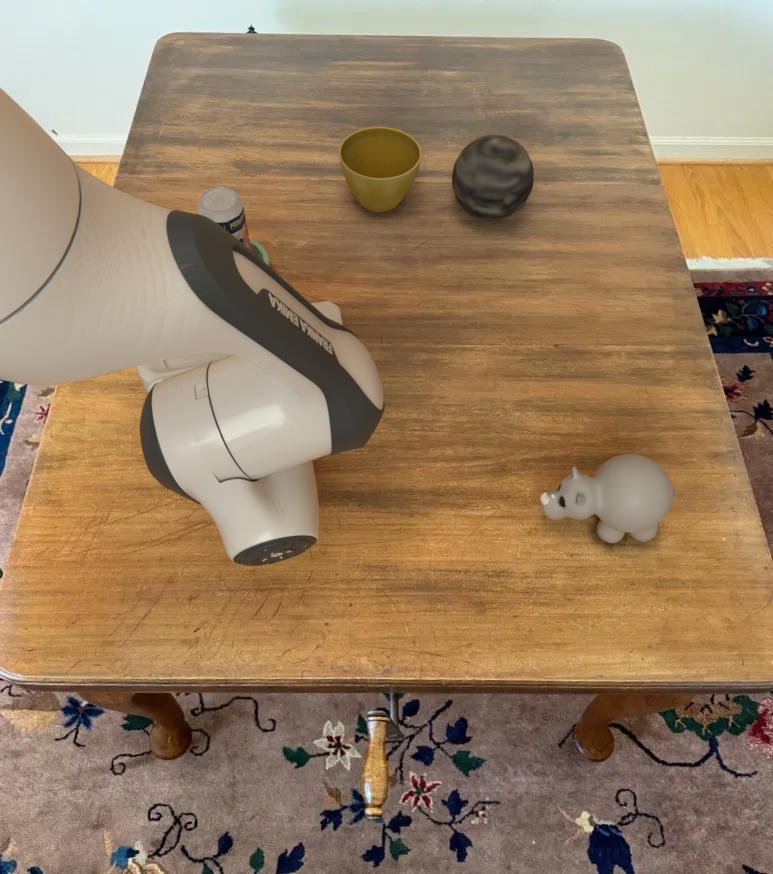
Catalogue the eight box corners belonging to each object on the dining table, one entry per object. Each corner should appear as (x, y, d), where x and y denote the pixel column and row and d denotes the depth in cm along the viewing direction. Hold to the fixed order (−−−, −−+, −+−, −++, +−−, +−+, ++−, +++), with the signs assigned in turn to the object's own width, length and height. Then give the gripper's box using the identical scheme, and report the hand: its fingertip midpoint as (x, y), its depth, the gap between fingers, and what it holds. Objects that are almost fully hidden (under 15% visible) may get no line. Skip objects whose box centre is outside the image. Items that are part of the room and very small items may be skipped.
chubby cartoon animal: (525, 485, 74) (542, 440, 67) (645, 484, 74) (674, 438, 67) (535, 552, 70) (553, 512, 63) (661, 550, 70) (693, 510, 63)
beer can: (231, 302, 86) (212, 221, 75) (207, 279, 87) (186, 197, 77) (265, 282, 87) (250, 200, 77) (241, 260, 89) (224, 177, 79)
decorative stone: (539, 227, 94) (555, 160, 85) (466, 245, 92) (475, 178, 83) (506, 178, 99) (519, 110, 90) (436, 193, 97) (443, 125, 88)
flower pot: (403, 167, 100) (405, 119, 94) (429, 216, 95) (433, 169, 88) (331, 182, 98) (328, 134, 92) (354, 233, 93) (352, 186, 87)
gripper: (360, 359, 67) (331, 253, 75) (130, 399, 65) (123, 285, 72) (361, 399, 73) (334, 297, 80) (148, 437, 70) (140, 327, 77)
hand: (232, 291), depth 76 cm, fingers open, 8 cm apart
